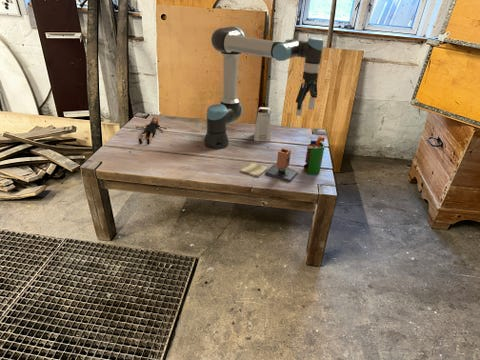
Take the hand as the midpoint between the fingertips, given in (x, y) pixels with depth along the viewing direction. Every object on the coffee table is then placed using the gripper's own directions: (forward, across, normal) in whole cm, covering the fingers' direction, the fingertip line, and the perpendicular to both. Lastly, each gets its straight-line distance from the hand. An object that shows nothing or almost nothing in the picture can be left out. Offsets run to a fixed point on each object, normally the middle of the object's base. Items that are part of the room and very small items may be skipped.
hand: (304, 112), depth 172 cm
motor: (+28, -8, -13) cm, 32 cm away
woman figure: (+28, -34, +89) cm, 99 cm away
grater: (+28, +10, +32) cm, 43 cm away
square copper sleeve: (+23, -22, -3) cm, 32 cm away
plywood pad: (+28, -29, +11) cm, 41 cm away
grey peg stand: (+28, -22, -3) cm, 36 cm away
